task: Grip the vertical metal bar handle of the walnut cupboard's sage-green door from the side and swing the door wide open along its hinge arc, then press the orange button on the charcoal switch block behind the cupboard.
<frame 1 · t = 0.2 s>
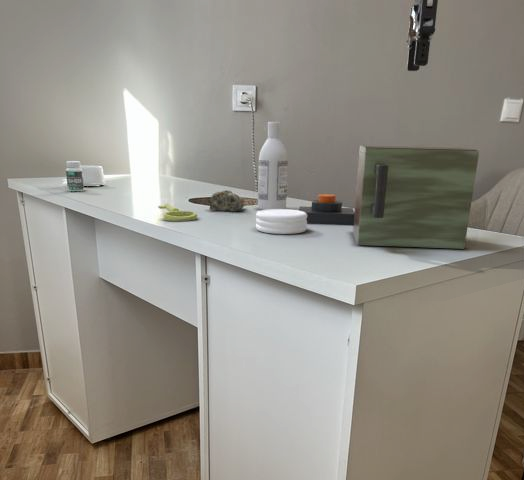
hand: (416, 68, 100), 29 cm above the table, tool pointing down, fingers open, 8 cm apart
button: (327, 199, 121), point 4 cm above the table, slide at 0.1 cm
pill bottle: (76, 191, 167), on the table
white flat cylinder: (281, 231, 109), on the table
cupboard: (404, 240, 102), on the table
rock: (229, 211, 134), on the table
key: (175, 218, 122), on the table
switch block: (325, 220, 122), on the table
white rounded block: (87, 186, 183), on the table
door: (418, 201, 90), point 8 cm above the table, hinge at 0.0°
bath foam: (271, 210, 137), on the table
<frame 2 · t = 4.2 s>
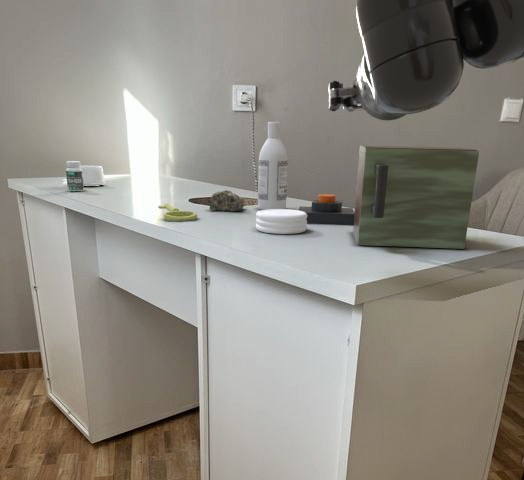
hand: (383, 99, 74), 22 cm above the table, tool horizontal, fingers open, 8 cm apart
nothing on the table moved.
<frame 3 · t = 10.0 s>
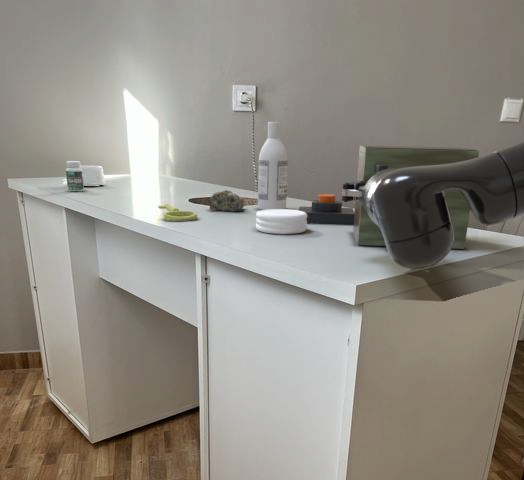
hand: (379, 187, 90), 10 cm above the table, tool horizontal, fingers closed on door
door: (418, 201, 90), point 8 cm above the table, hinge at 0.0°, touching gripper
everything else where it was.
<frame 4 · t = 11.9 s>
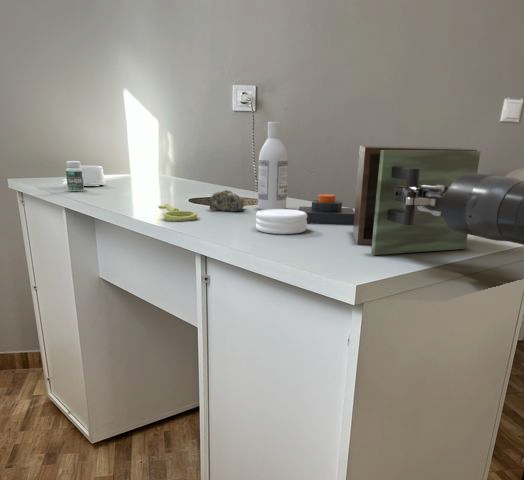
hand: (403, 192, 83), 10 cm above the table, tool horizontal, fingers closed on door
door: (436, 204, 87), point 8 cm above the table, hinge at 26.0°, touching gripper
everything else where it was.
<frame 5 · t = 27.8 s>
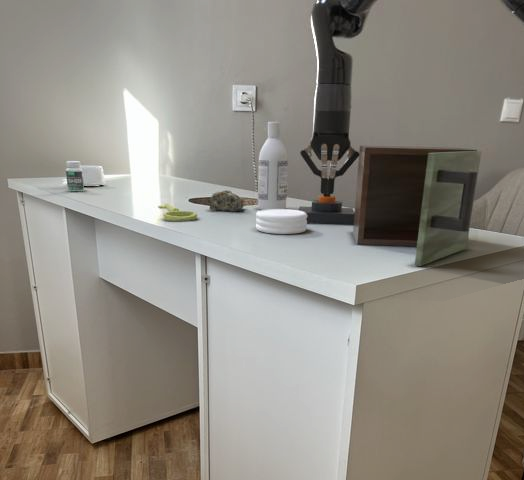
hand: (326, 196, 120), 5 cm above the table, tool pointing down, fingers closed
button: (326, 200, 121), point 4 cm above the table, slide at -0.1 cm, touching gripper
door: (466, 207, 84), point 8 cm above the table, hinge at 55.3°
everything else where it was.
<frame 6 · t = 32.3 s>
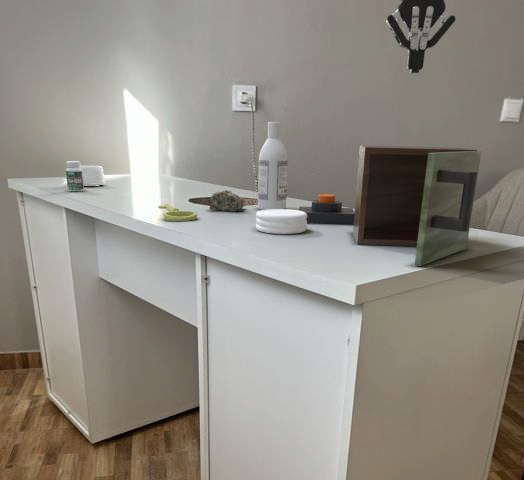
hand: (414, 72, 106), 29 cm above the table, tool pointing down, fingers closed
button: (327, 199, 121), point 4 cm above the table, slide at 0.1 cm
everything else where it was.
at the end: door at +55° (first picture: +0°); button pushed in 1.1 cm at the most during the clip, back to where it started at the end; button slide at 0.1 cm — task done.
